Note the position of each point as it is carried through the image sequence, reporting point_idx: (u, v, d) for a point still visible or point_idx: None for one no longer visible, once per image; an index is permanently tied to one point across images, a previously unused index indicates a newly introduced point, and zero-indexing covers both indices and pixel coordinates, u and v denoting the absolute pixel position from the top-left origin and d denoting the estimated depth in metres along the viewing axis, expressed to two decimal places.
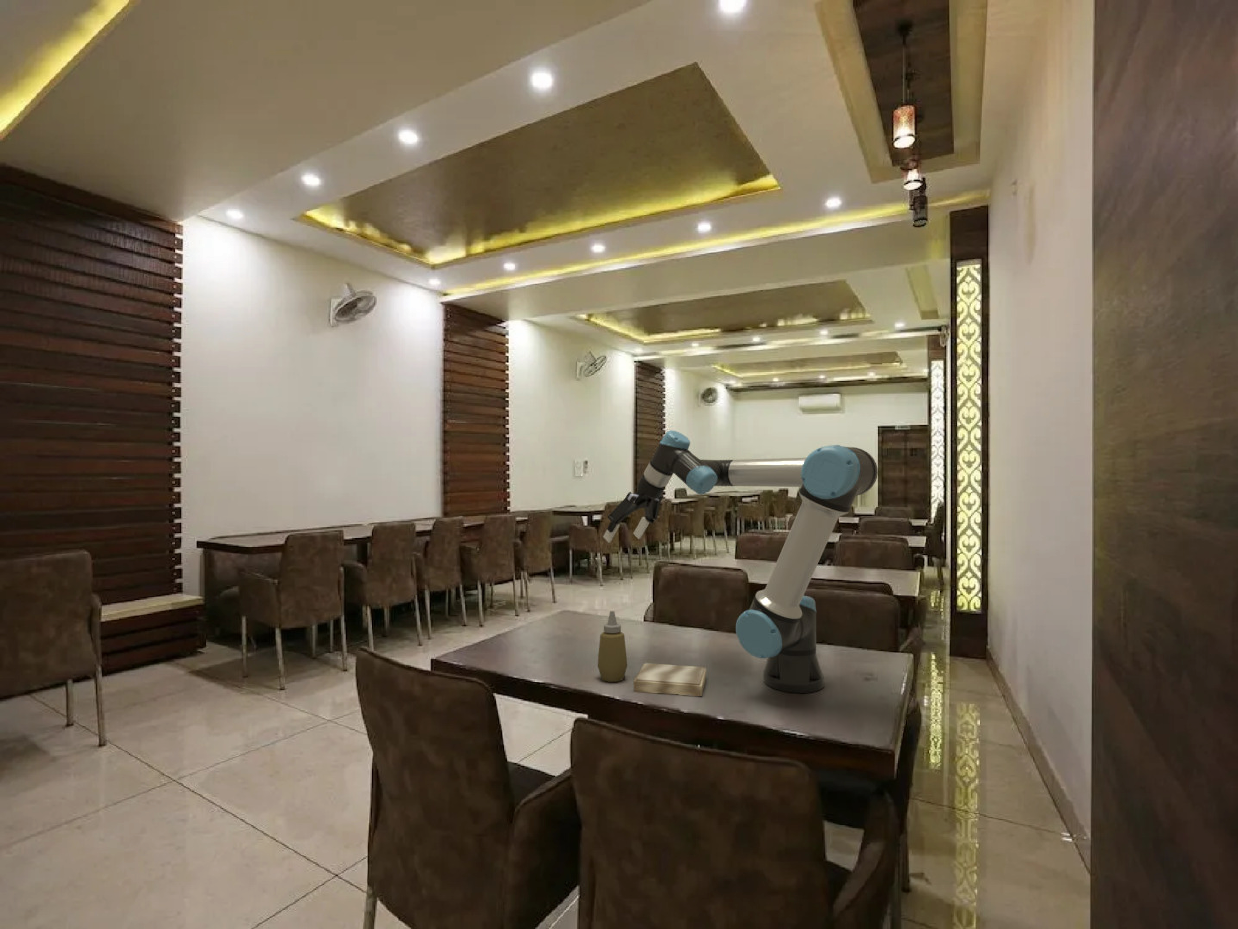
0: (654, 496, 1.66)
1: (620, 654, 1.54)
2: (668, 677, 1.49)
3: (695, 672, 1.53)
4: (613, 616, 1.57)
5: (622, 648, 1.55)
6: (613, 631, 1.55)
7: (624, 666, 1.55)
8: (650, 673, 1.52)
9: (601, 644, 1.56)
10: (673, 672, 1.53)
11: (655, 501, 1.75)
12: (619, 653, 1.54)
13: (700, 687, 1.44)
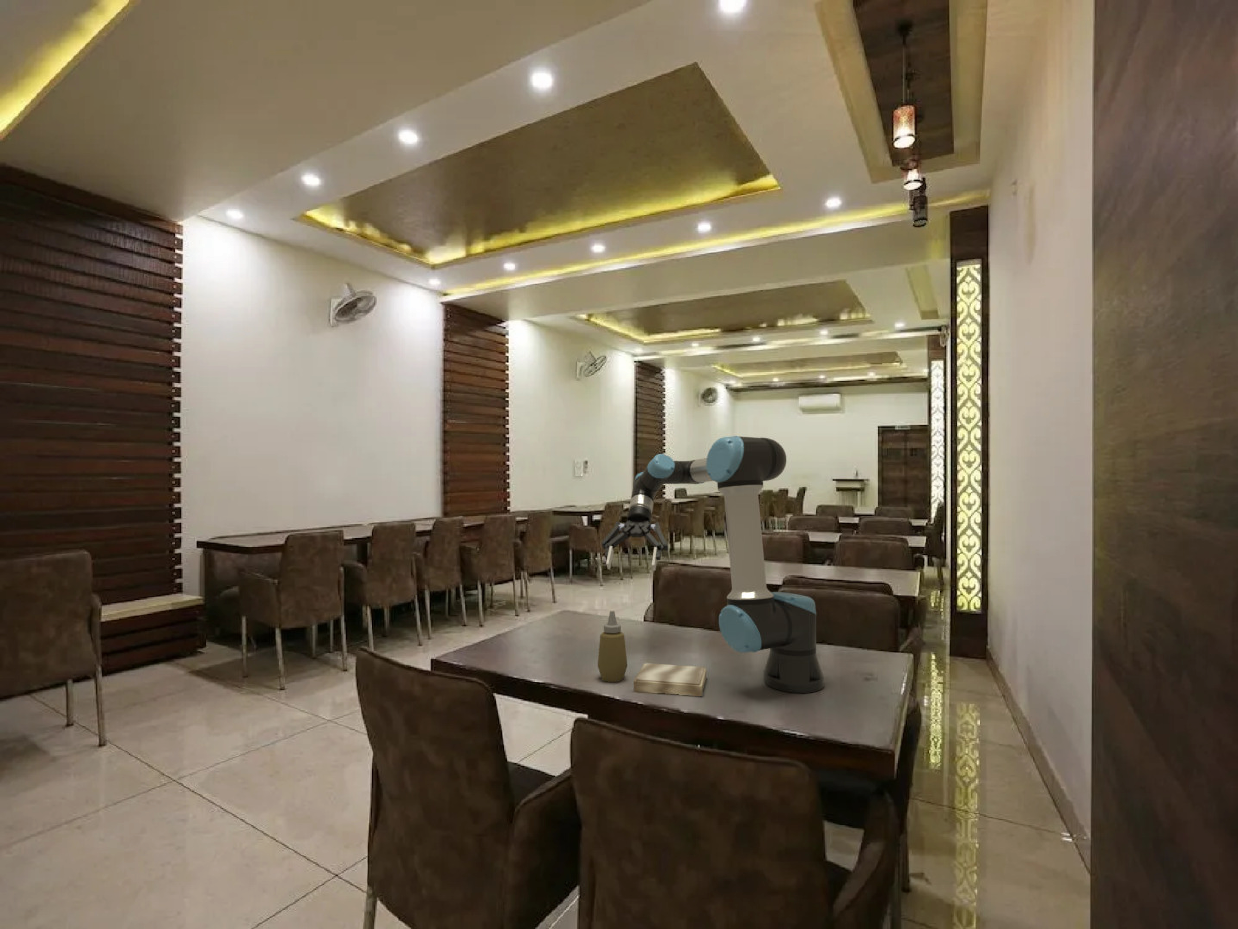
0: (633, 512, 1.82)
1: (620, 654, 1.54)
2: (668, 677, 1.49)
3: (695, 672, 1.53)
4: (613, 616, 1.57)
5: (622, 648, 1.55)
6: (613, 631, 1.55)
7: (624, 666, 1.55)
8: (650, 673, 1.52)
9: (601, 644, 1.56)
10: (673, 672, 1.53)
11: (656, 531, 1.80)
12: (619, 653, 1.54)
13: (700, 687, 1.44)
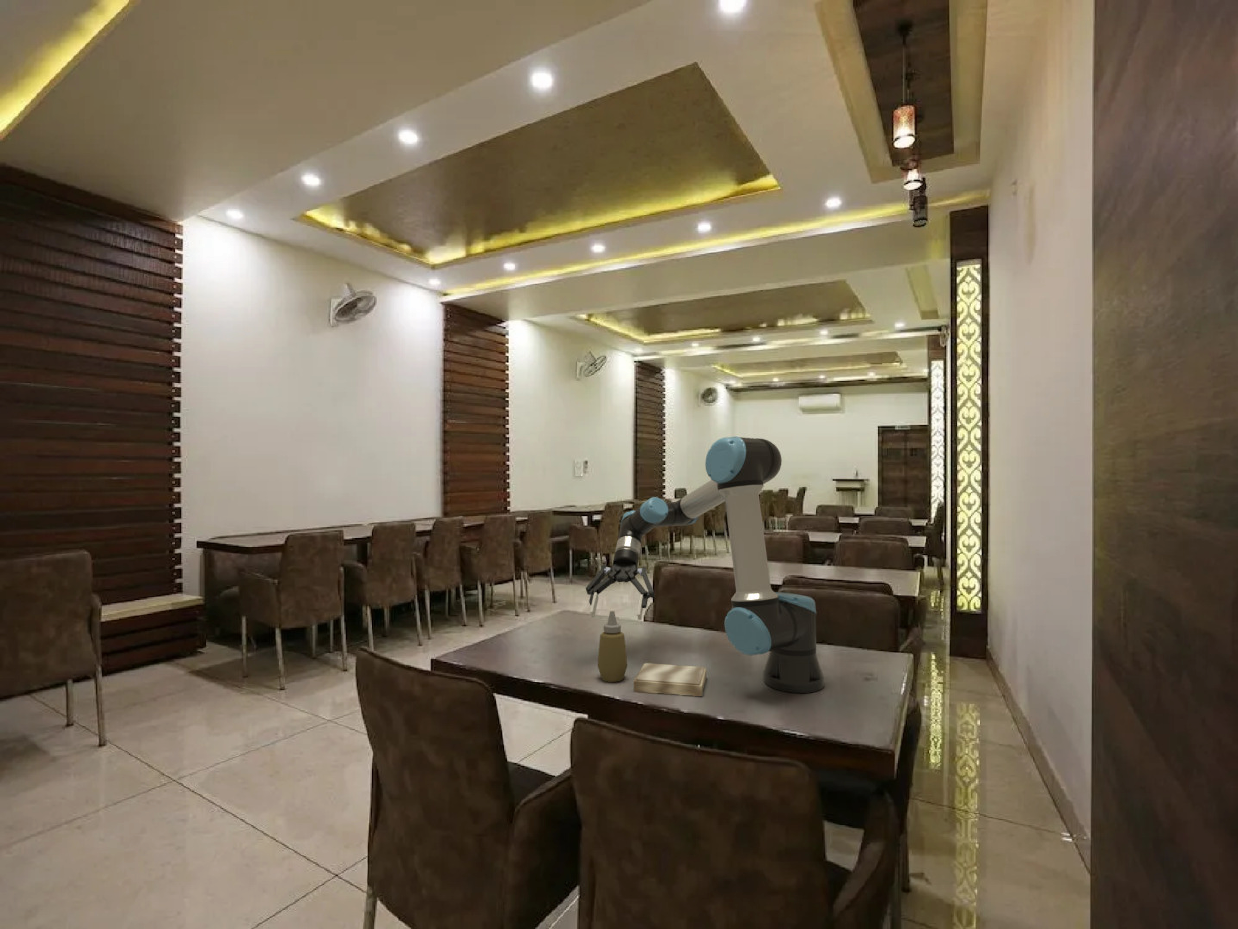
0: (619, 556, 1.75)
1: (620, 654, 1.54)
2: (668, 677, 1.49)
3: (695, 672, 1.53)
4: (613, 616, 1.57)
5: (622, 648, 1.55)
6: (613, 631, 1.55)
7: (624, 666, 1.55)
8: (650, 673, 1.52)
9: (601, 644, 1.56)
10: (673, 672, 1.53)
11: None
12: (619, 653, 1.54)
13: (700, 687, 1.44)
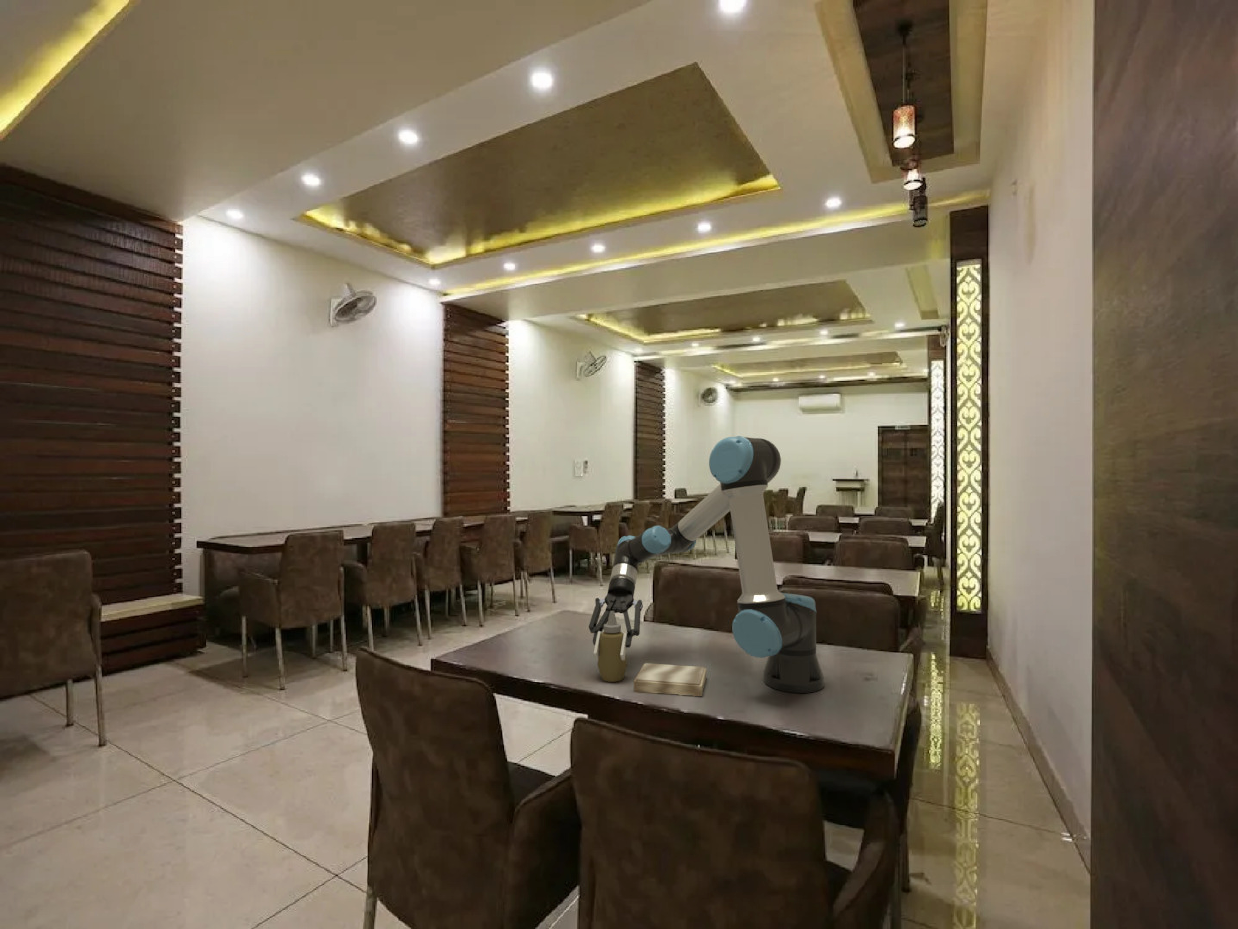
0: (614, 585, 1.66)
1: None
2: (668, 677, 1.49)
3: (695, 672, 1.53)
4: (613, 616, 1.57)
5: None
6: (613, 631, 1.55)
7: (624, 666, 1.55)
8: (650, 673, 1.52)
9: (601, 644, 1.56)
10: (673, 672, 1.53)
11: None
12: (619, 653, 1.54)
13: (700, 687, 1.44)
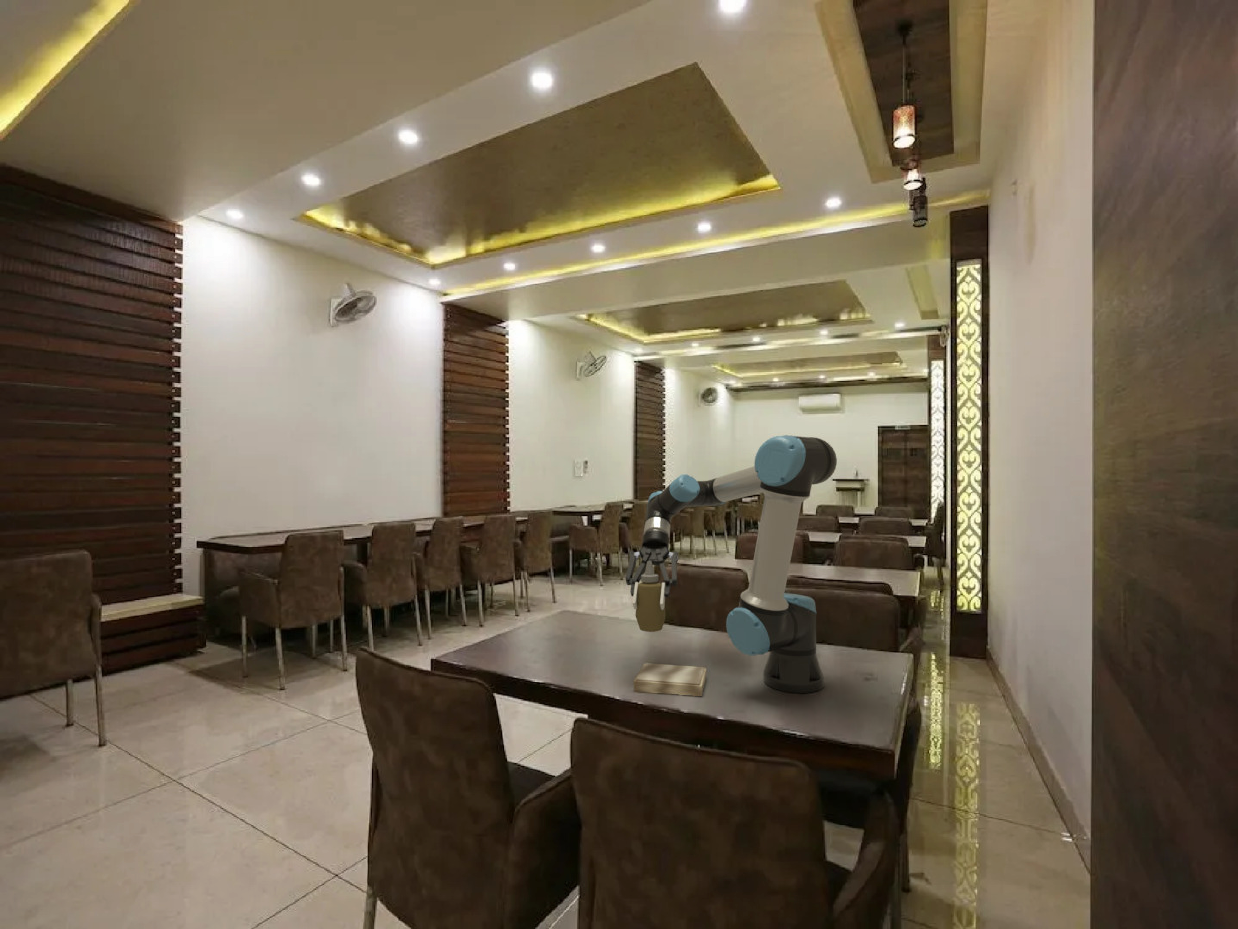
0: (649, 537, 1.64)
1: (659, 603, 1.52)
2: (668, 677, 1.49)
3: (695, 672, 1.53)
4: (650, 566, 1.55)
5: (660, 597, 1.53)
6: (651, 580, 1.53)
7: (663, 616, 1.53)
8: (650, 673, 1.52)
9: (639, 594, 1.53)
10: (673, 672, 1.53)
11: None
12: (658, 602, 1.52)
13: (700, 687, 1.44)
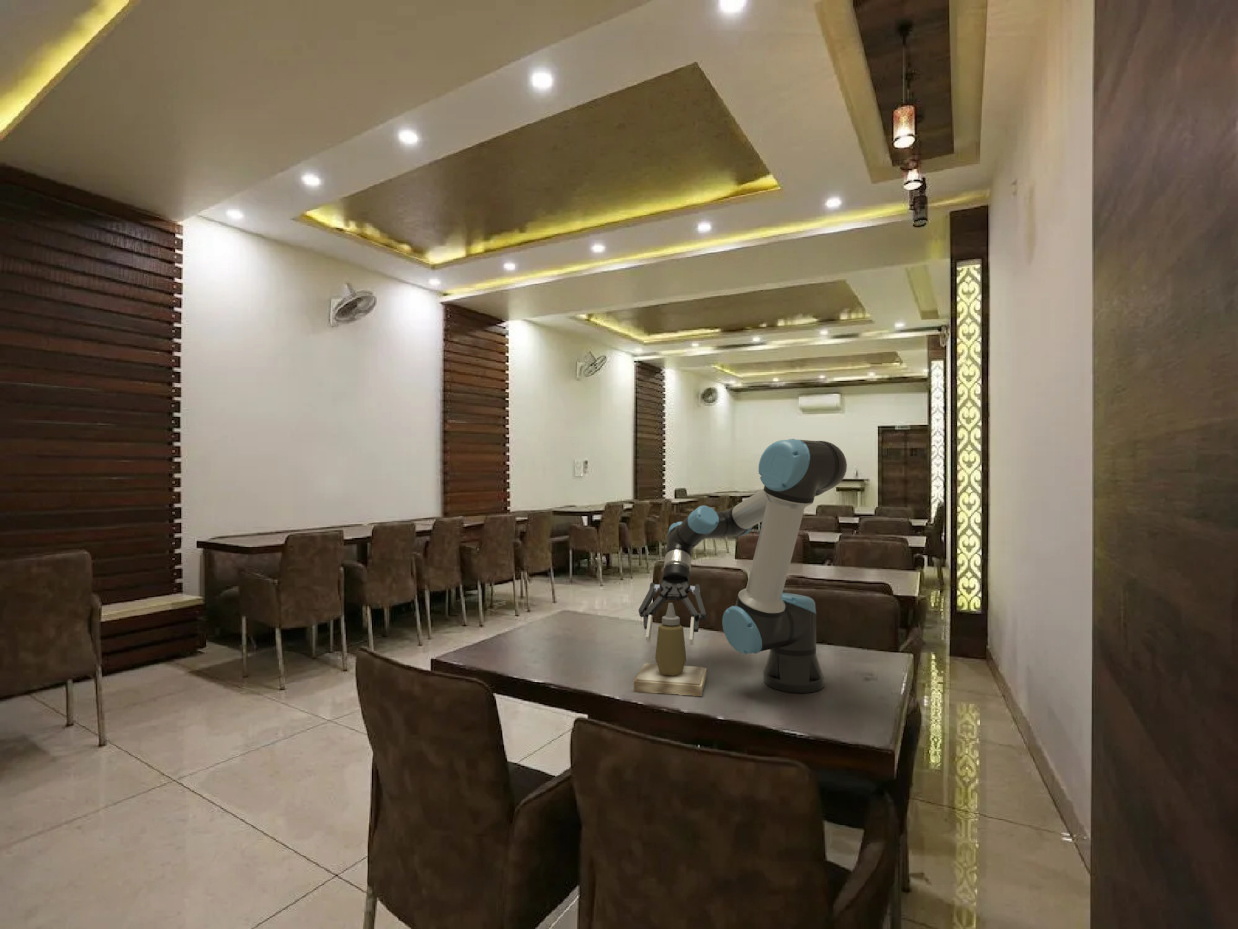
0: (670, 571, 1.61)
1: (680, 647, 1.50)
2: (668, 677, 1.49)
3: (695, 672, 1.53)
4: (672, 608, 1.53)
5: (681, 640, 1.51)
6: (672, 623, 1.51)
7: (684, 659, 1.51)
8: (650, 673, 1.52)
9: (660, 637, 1.51)
10: None
11: (695, 595, 1.59)
12: (679, 646, 1.50)
13: (700, 687, 1.44)
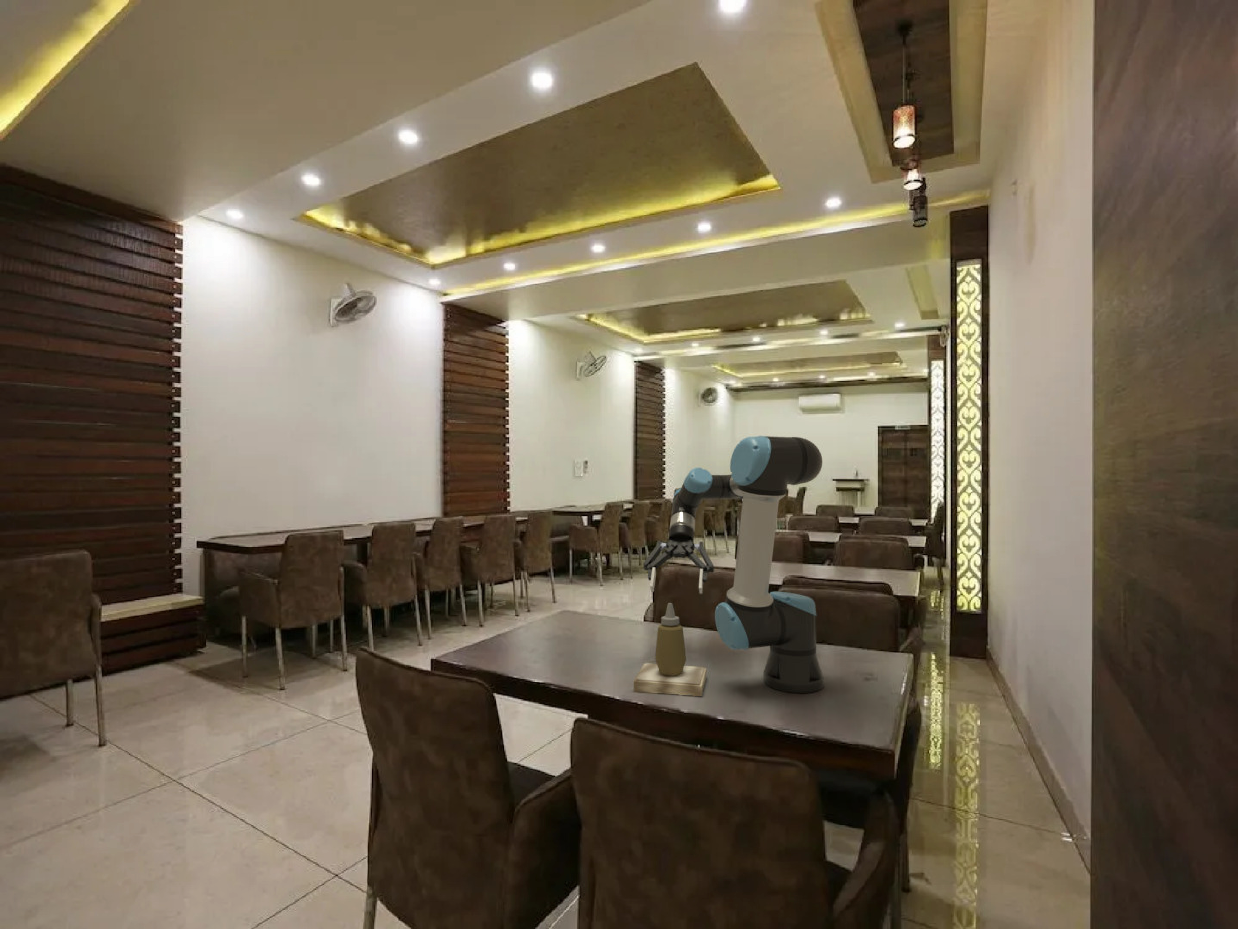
0: (675, 531, 1.74)
1: (680, 647, 1.50)
2: (668, 677, 1.49)
3: (695, 672, 1.53)
4: (671, 608, 1.52)
5: (681, 640, 1.51)
6: (672, 623, 1.51)
7: (683, 659, 1.51)
8: (650, 673, 1.52)
9: (659, 637, 1.51)
10: None
11: (700, 551, 1.71)
12: (679, 646, 1.50)
13: (700, 687, 1.44)
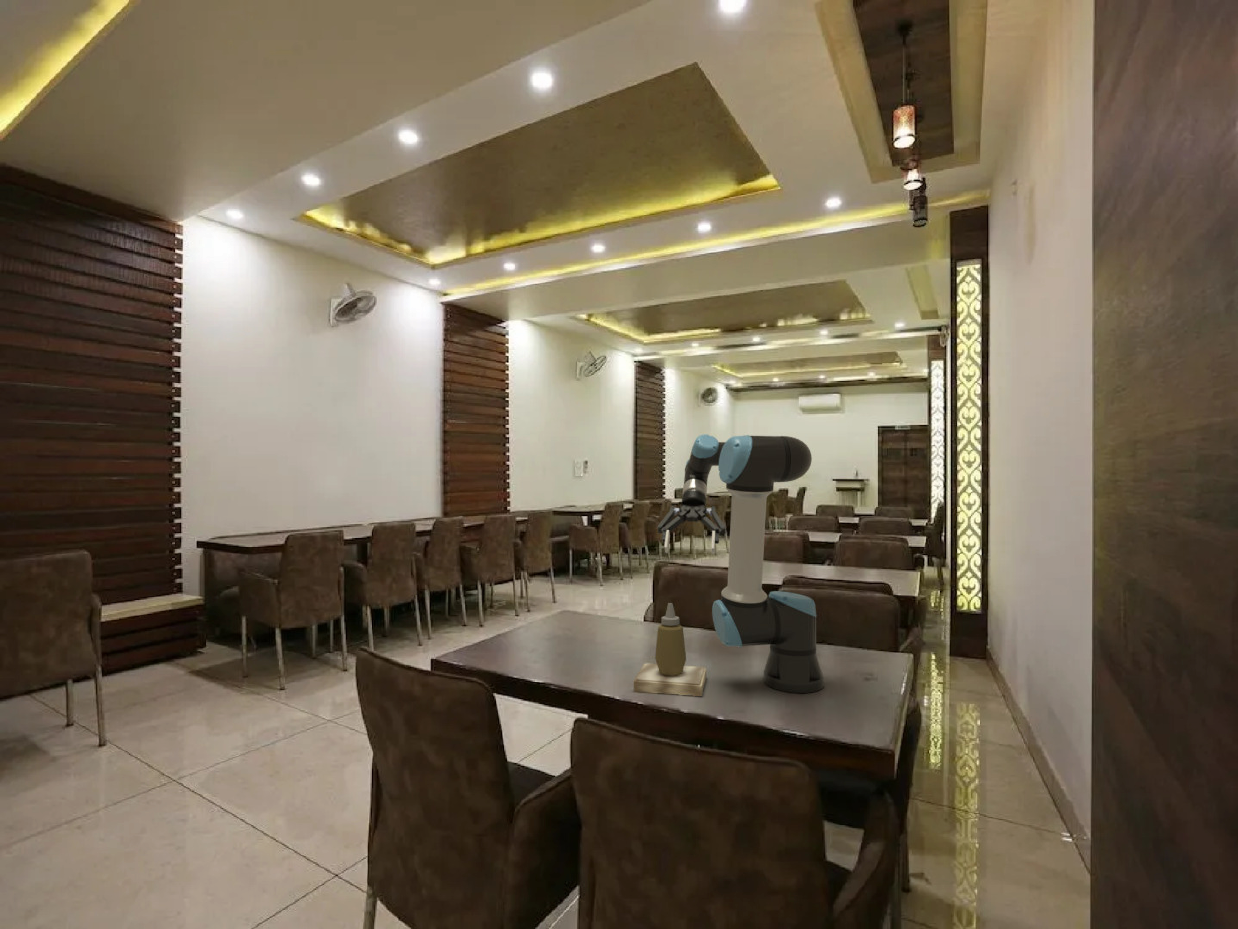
0: (688, 496, 1.81)
1: (680, 647, 1.50)
2: (668, 677, 1.49)
3: (695, 672, 1.53)
4: (671, 608, 1.52)
5: (681, 641, 1.51)
6: (672, 624, 1.51)
7: (683, 660, 1.51)
8: (650, 673, 1.52)
9: (660, 637, 1.51)
10: None
11: (712, 515, 1.78)
12: (679, 646, 1.50)
13: (700, 687, 1.44)
